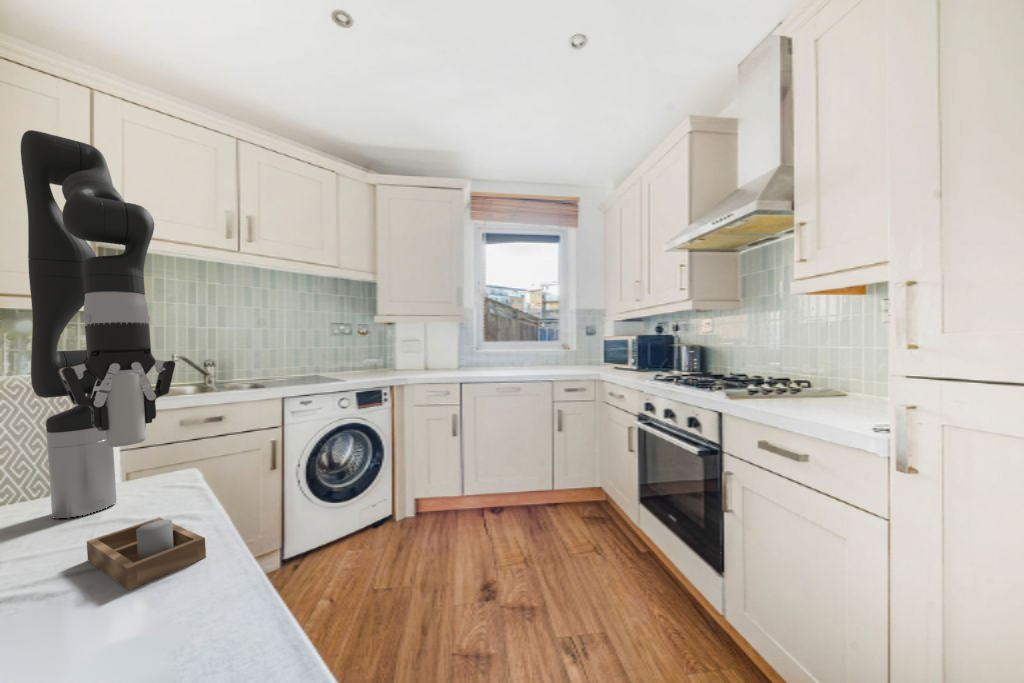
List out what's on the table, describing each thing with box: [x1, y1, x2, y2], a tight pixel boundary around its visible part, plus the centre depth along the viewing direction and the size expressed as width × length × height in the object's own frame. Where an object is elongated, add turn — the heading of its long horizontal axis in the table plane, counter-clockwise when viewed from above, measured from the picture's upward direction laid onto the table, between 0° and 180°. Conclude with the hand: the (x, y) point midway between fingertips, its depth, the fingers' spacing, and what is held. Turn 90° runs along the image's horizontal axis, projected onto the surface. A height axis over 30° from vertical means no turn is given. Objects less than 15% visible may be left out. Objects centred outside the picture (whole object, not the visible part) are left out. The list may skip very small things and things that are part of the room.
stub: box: [136, 518, 174, 561], centre depth 60 cm, size 4×4×6 cm
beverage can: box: [104, 370, 148, 448], centre depth 66 cm, size 5×5×12 cm
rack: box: [86, 517, 207, 591], centre depth 62 cm, size 17×9×3 cm, turn 59°
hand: (125, 426), depth 66 cm, fingers closed on beverage can, 4 cm apart
